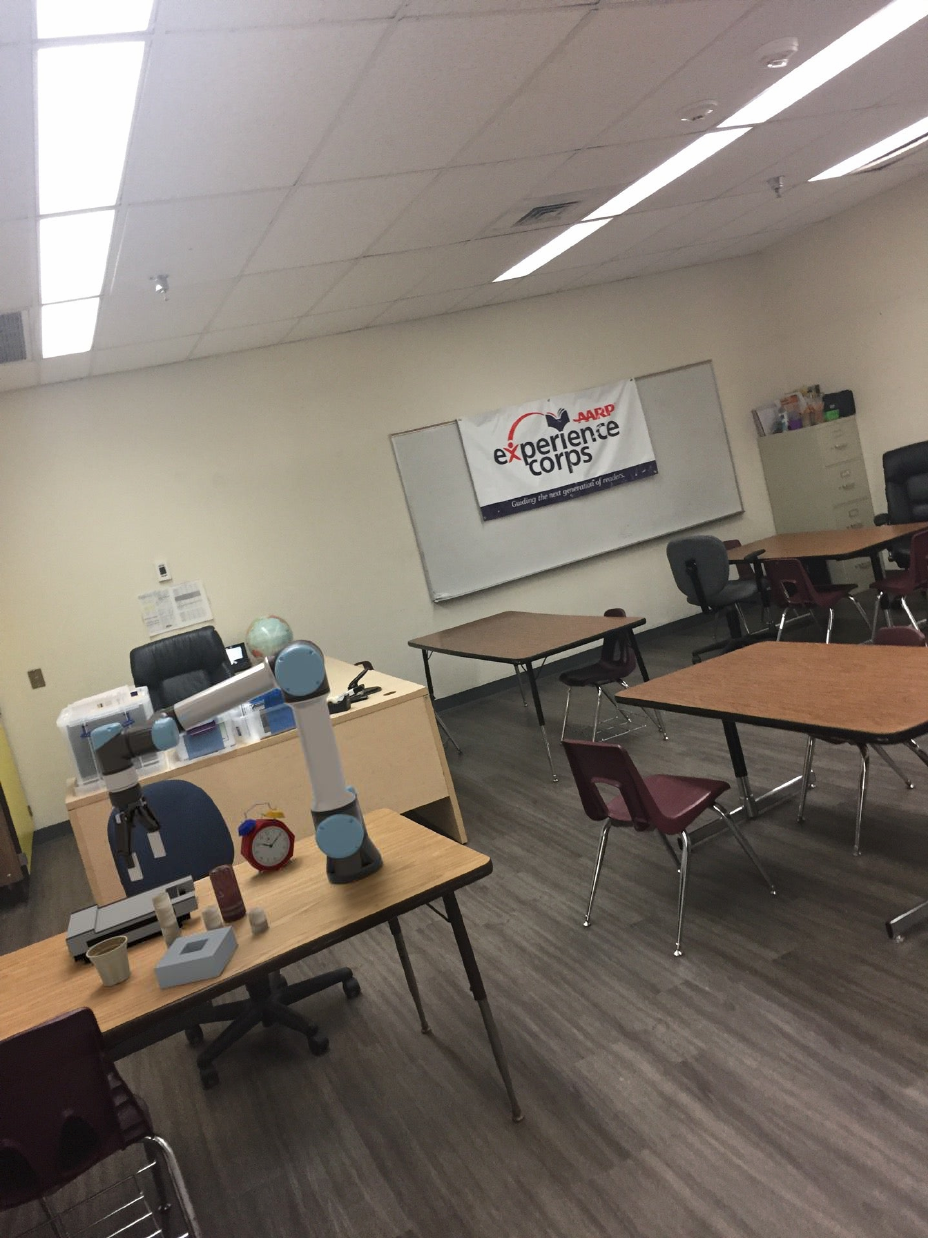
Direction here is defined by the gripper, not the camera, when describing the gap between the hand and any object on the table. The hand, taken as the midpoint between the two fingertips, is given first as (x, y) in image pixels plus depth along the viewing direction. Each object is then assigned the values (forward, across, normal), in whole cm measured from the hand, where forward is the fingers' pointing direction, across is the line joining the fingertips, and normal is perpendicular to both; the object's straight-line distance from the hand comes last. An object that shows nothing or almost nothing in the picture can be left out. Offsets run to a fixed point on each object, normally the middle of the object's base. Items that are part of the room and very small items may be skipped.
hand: (149, 867), depth 226 cm
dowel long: (+21, +1, +1) cm, 21 cm away
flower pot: (+21, +12, -10) cm, 26 cm away
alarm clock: (+21, -40, +14) cm, 47 cm away
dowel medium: (+21, +1, +12) cm, 24 cm away
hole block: (+21, +14, +12) cm, 28 cm away
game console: (+22, -15, -16) cm, 31 cm away
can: (+21, -10, +13) cm, 27 cm away
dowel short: (+21, +1, +23) cm, 31 cm away
